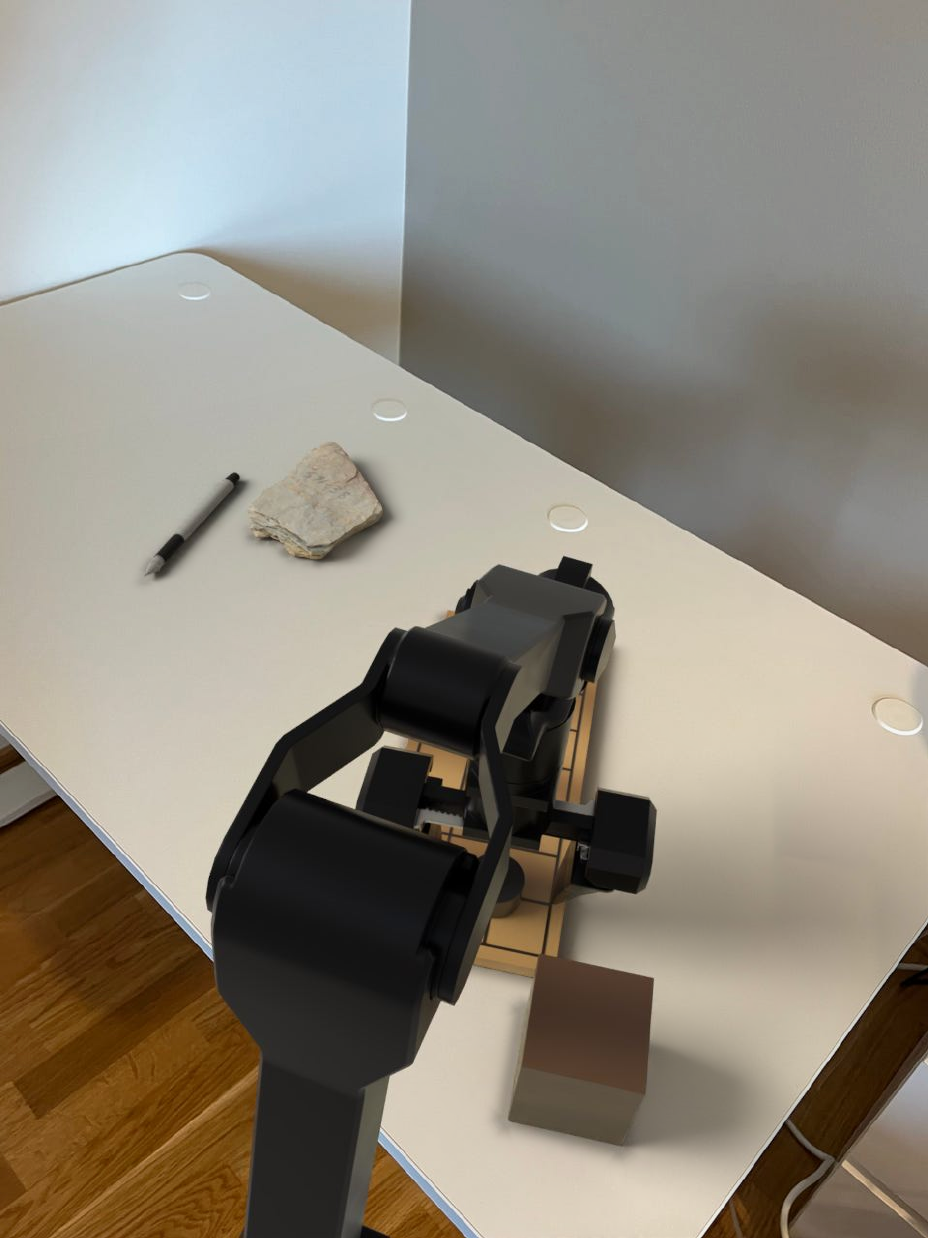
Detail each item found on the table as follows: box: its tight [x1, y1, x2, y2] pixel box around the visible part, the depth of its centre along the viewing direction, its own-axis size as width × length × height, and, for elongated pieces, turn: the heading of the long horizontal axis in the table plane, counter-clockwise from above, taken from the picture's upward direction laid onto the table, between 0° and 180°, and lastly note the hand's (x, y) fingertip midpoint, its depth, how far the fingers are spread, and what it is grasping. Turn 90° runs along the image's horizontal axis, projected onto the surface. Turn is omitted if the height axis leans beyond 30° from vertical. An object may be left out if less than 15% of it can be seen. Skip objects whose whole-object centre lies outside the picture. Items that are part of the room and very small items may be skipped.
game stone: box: [478, 855, 525, 918], centre depth 74 cm, size 4×4×2 cm
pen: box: [144, 471, 241, 577], centre depth 102 cm, size 1×16×1 cm, turn 159°
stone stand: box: [507, 954, 655, 1147], centre depth 64 cm, size 7×7×8 cm
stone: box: [246, 441, 383, 560], centre depth 104 cm, size 15×11×3 cm
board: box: [405, 609, 599, 978], centre depth 83 cm, size 32×14×1 cm, turn 169°
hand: (495, 886), depth 74 cm, fingers open, 8 cm apart
